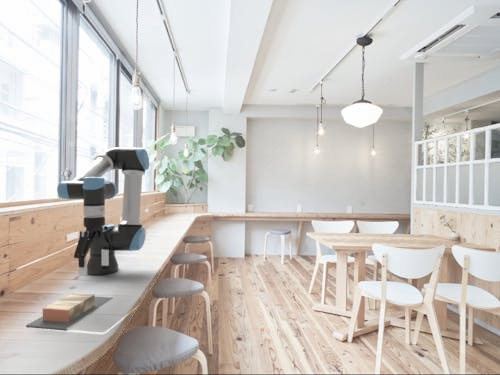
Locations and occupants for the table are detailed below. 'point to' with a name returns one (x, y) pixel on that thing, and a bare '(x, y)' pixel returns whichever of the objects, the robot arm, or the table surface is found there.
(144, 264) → the table surface
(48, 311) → the block
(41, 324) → the mat
